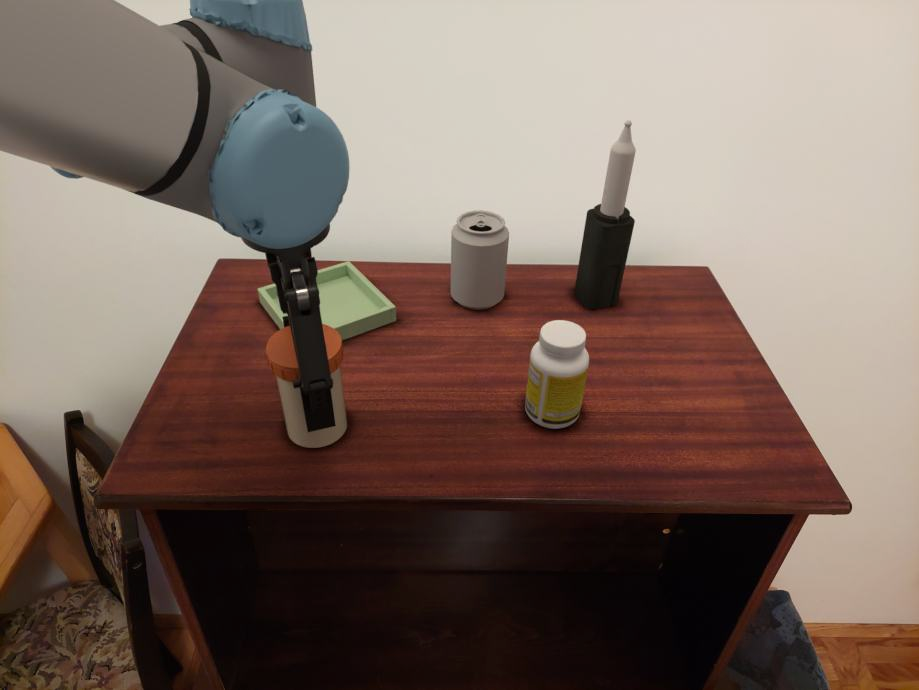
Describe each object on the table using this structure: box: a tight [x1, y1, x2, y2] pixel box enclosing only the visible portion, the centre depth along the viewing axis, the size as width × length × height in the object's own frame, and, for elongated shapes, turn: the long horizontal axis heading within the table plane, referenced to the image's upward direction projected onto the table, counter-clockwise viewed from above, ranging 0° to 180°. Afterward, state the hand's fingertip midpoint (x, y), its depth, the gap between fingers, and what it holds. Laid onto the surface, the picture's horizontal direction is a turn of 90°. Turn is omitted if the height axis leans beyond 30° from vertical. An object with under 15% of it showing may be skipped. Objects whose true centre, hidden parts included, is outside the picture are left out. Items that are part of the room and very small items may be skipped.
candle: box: [573, 119, 637, 311], centre depth 83 cm, size 5×5×25 cm
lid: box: [265, 324, 344, 382], centre depth 63 cm, size 7×7×2 cm
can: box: [449, 209, 510, 311], centre depth 86 cm, size 8×8×12 cm
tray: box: [257, 260, 397, 341], centre depth 86 cm, size 14×14×2 cm
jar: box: [275, 365, 348, 449], centre depth 66 cm, size 6×6×11 cm
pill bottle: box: [524, 319, 590, 430], centre depth 69 cm, size 6×6×11 cm
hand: (312, 393), depth 67 cm, fingers open, 9 cm apart
